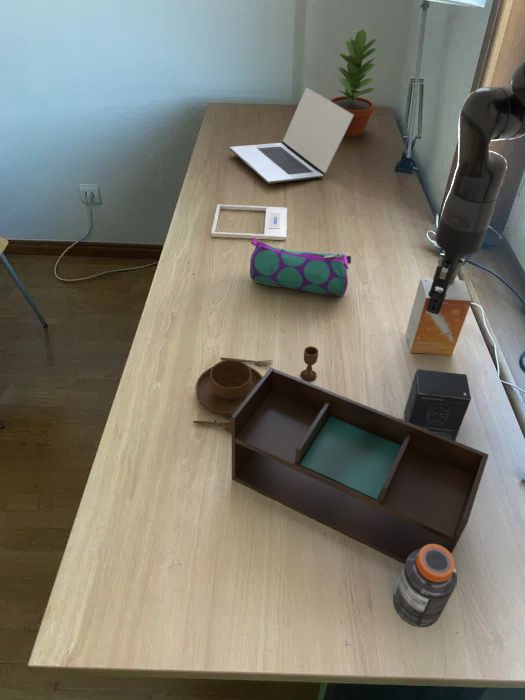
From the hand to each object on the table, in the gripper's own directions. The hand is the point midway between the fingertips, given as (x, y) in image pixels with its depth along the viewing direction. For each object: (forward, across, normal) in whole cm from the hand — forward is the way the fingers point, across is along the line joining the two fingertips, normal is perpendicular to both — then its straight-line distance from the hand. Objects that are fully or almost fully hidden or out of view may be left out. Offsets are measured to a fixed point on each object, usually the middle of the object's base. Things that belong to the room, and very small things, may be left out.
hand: (438, 299), depth 101 cm
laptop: (+11, +59, +59) cm, 84 cm away
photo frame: (+12, +23, +51) cm, 57 cm away
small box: (+11, 0, -1) cm, 11 cm away
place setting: (+11, -28, +22) cm, 38 cm away
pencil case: (+11, +5, +29) cm, 32 cm away
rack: (+11, -40, +1) cm, 41 cm away
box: (+11, -21, -6) cm, 24 cm away
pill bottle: (+11, -50, -13) cm, 53 cm away
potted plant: (+12, +95, +53) cm, 109 cm away
